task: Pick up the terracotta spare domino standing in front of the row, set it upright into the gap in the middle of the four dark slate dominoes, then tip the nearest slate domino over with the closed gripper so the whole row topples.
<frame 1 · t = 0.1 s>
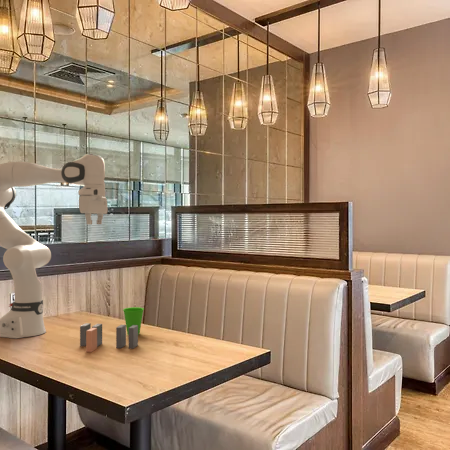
hand: (94, 224, 194), 48 cm above the table, fingers open, 8 cm apart
domino e: (133, 346, 178), on the table
spare domino: (91, 350, 173), on the table
cup: (133, 334, 198), on the table
domino a: (85, 344, 181), on the table
domino b: (97, 345, 181), on the table
domino d: (121, 346, 179), on the table
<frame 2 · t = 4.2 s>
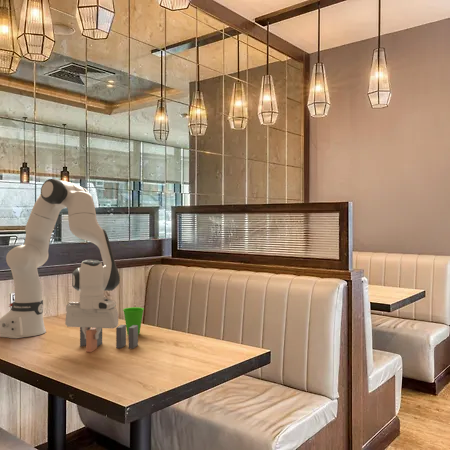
hand: (91, 338, 173), 4 cm above the table, fingers closed on spare domino, 2 cm apart
spare domino: (91, 350, 173), on the table, touching gripper
everything else where it was.
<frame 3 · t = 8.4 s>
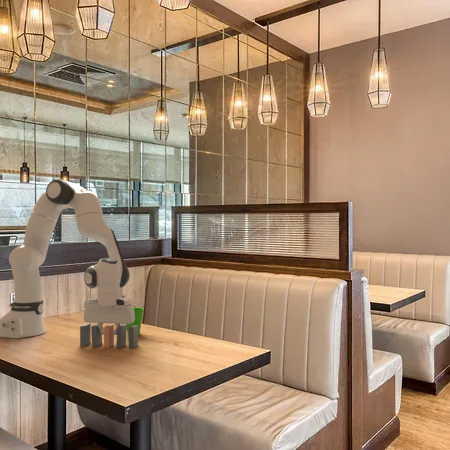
hand: (109, 334, 180), 4 cm above the table, fingers open, 4 cm apart
spare domino: (109, 345, 180), on the table
everything else where it was.
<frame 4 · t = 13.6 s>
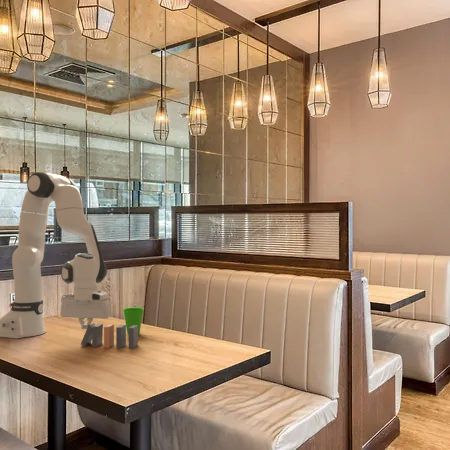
hand: (85, 328, 181), 6 cm above the table, fingers closed
domino a: (85, 343, 181), on the table, tilted 24°, touching gripper
everything else where it was.
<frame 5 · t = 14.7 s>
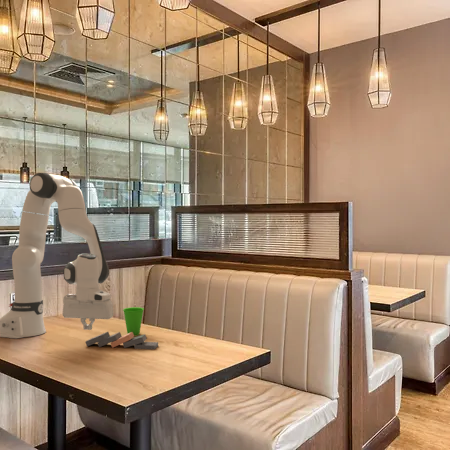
hand: (87, 329, 181), 6 cm above the table, fingers closed
domino e: (136, 345, 178), on the table, tilted 90°, touching domino d
spare domino: (113, 343, 179), point 1 cm above the table, tilted 65°, touching domino d
domino a: (89, 342, 181), point 1 cm above the table, tilted 67°
domino b: (100, 343, 180), point 1 cm above the table, tilted 66°
domino d: (125, 343, 179), point 1 cm above the table, tilted 72°, touching domino e, spare domino
everything else where it was.
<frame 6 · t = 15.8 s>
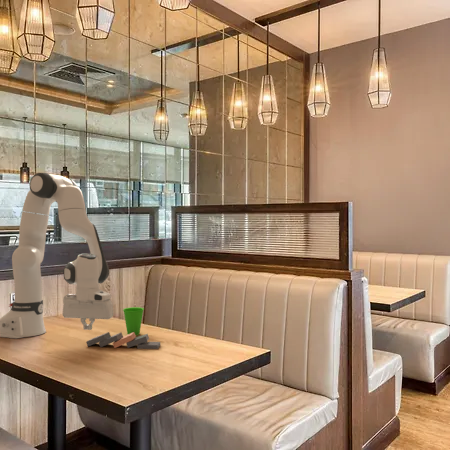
hand: (87, 329, 181), 6 cm above the table, fingers closed
spare domino: (115, 344, 179), point 1 cm above the table, tilted 65°, touching domino b, domino d
domino a: (89, 342, 181), point 1 cm above the table, tilted 67°, touching domino b
domino b: (102, 343, 180), point 1 cm above the table, tilted 66°, touching domino a, spare domino
domino d: (128, 343, 179), point 1 cm above the table, tilted 72°, touching domino e, spare domino
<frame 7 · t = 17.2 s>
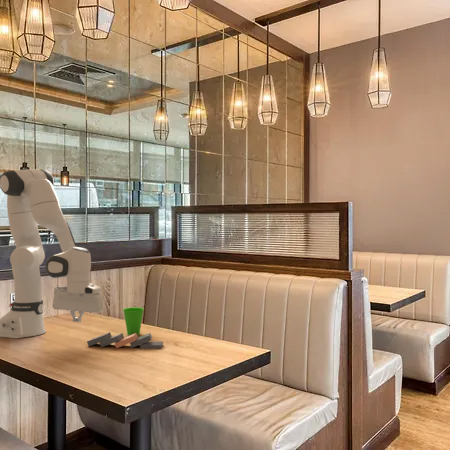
hand: (76, 321, 183), 9 cm above the table, fingers closed
domino e: (141, 345, 178), on the table, tilted 90°, touching domino d
spare domino: (117, 344, 179), point 1 cm above the table, tilted 68°
domino b: (103, 343, 180), point 1 cm above the table, tilted 69°, touching domino a
domino d: (131, 344, 179), point 1 cm above the table, tilted 69°, touching domino e
everything else where it was.
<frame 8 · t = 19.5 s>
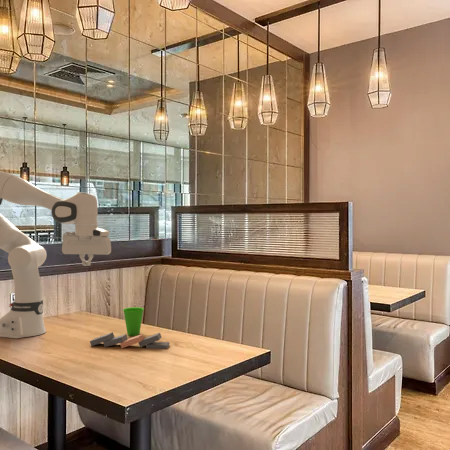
hand: (86, 265, 186), 31 cm above the table, fingers closed
domino e: (147, 345, 179), on the table, tilted 90°, touching domino d
spare domino: (123, 344, 179), point 1 cm above the table, tilted 69°, touching domino b, domino d
domino b: (106, 343, 180), point 1 cm above the table, tilted 73°, touching domino a, spare domino
domino d: (140, 343, 179), point 1 cm above the table, tilted 69°, touching domino e, spare domino
at the end: domino e tilted 90°; spare domino inside the target area (3.0 cm from its centre), point 0.9 cm above the table; the gripper is holding nothing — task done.
